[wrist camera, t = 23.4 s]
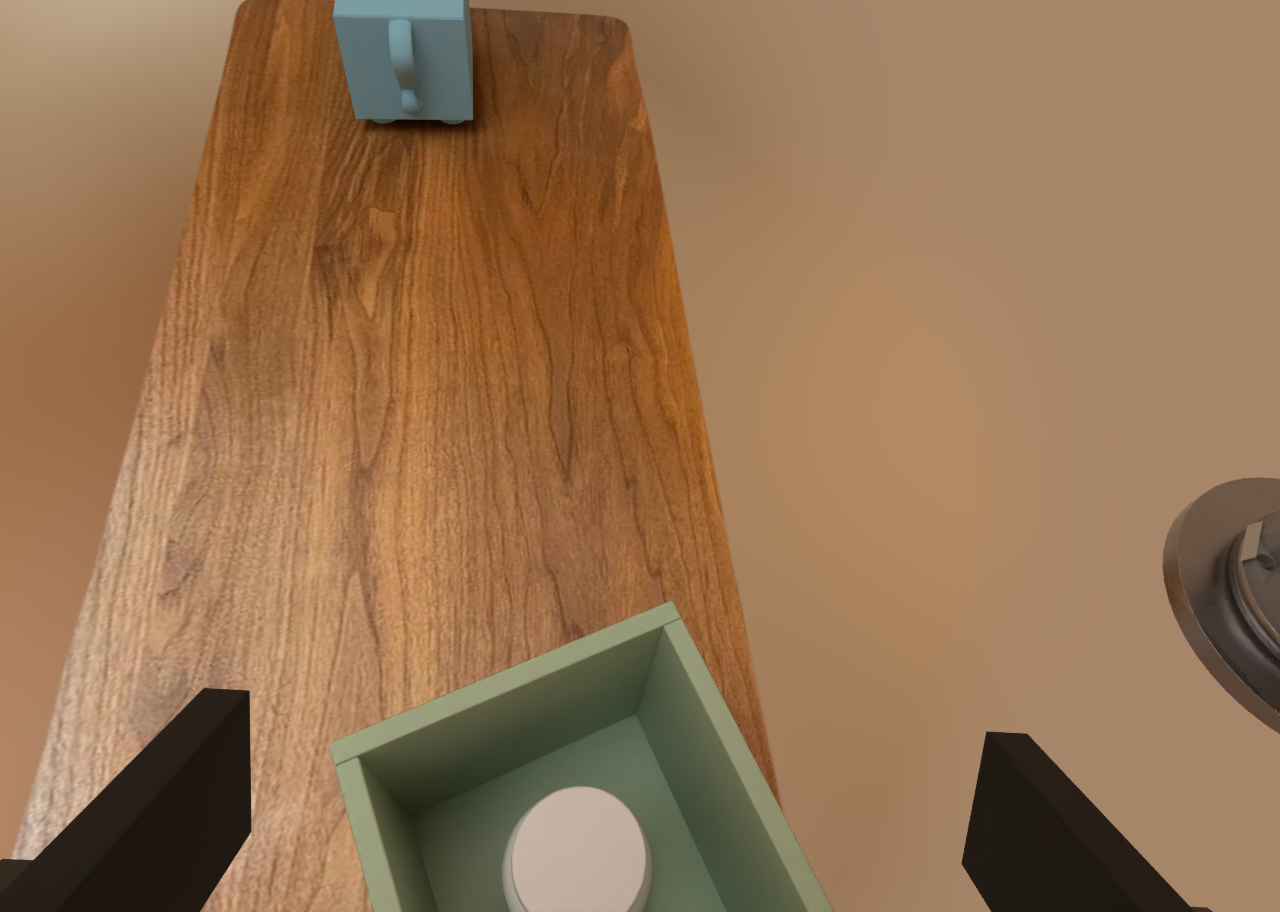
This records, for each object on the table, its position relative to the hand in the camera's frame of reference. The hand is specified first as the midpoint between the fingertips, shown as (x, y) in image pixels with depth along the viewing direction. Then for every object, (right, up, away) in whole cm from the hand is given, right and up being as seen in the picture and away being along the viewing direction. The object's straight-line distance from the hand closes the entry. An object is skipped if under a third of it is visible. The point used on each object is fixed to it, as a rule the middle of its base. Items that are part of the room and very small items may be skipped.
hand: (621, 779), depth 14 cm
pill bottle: (-3, -13, +22) cm, 26 cm away
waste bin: (-4, -19, +31) cm, 37 cm away
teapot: (-23, +44, +71) cm, 86 cm away
